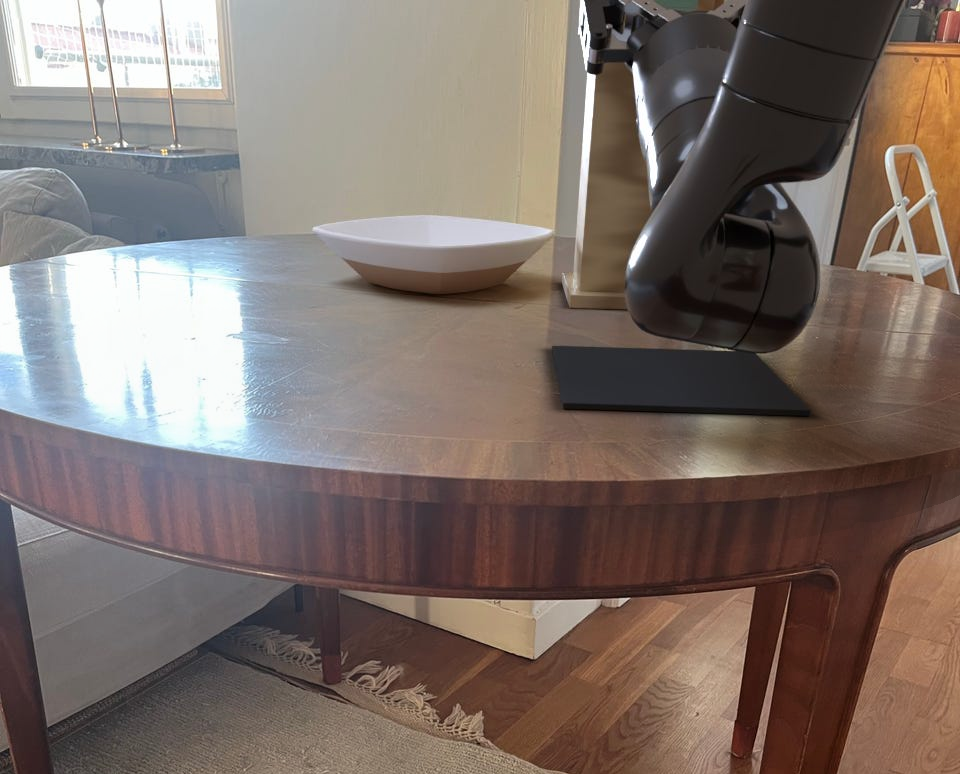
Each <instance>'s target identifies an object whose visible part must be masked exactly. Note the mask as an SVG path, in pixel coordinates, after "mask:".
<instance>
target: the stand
mask: <svg viewBox="0 0 960 774" xmlns="http://www.w3.org/2000/svg"><path fill="white" fill-rule="evenodd" d="M723 3H725V0H698V8H697V9H695V10H693V11H697V10H698V11H710V10H712V11H714V10H716V9H717V8H718V7H719V6H721V5H722V4H723ZM582 12H583V0H579V14H578V30H577V36H579V37H580V25H581V22H582ZM625 19H626V15H625V17H624V22H625ZM647 21H648V20H647V19H645V22H647ZM585 87H586V89H585V102H584V103H585V104H584V117H583V118H584V119H583V131H582V147H581V160H580V173H579V189H578V201H577V203H578V205H577V217H576V232H575V245H574V246H575V247H574V259H573V272H572V271H571V272H568V271H567V272H566V271H562V276H561V285H562V288H563V291H564V294H565V297H566V300H567V304H568V307H569V308H570V309H593V310H594V309H595V310H597V309H598V310H599V309H600V310H627V311H628V309H627V304H626V300H625V293H624V280H625V272H626V268H627V264H628V260H629V257H630V254H631V252H632V249H633V247H634V245H635V242H636V240H637V239H638V237H639V235H640V233H641V231H642V229H643V228H644V226H645V224H646V222H647V221H648V219H649V218H650V216H651V214H652V212H651V208H650V200H649V192H648V182H647V172H646V164H645V161H644V158H643V155H642V151H641V146H640V141H639V137H638V135H637V125H636V119H637V110H636V99H635V89H634V78H633V73H632V72H631V71H630V70H629V69H628V68H627V67H626V65H625V63H606V64H604V67H603V72H602V73H601V74H598V75H592V74H589V73H588V72H586V86H585Z"/></svg>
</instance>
